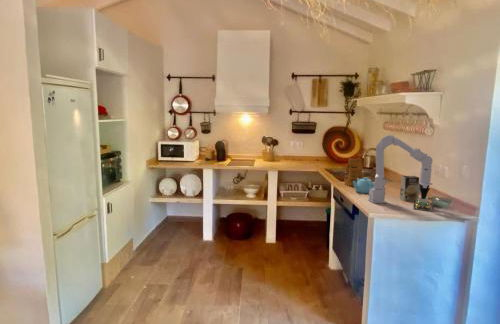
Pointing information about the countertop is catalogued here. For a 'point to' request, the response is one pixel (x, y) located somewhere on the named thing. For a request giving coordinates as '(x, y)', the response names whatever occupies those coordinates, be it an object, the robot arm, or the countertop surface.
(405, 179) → the coffee box
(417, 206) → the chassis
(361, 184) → the teapot
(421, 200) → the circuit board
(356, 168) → the coffee package
